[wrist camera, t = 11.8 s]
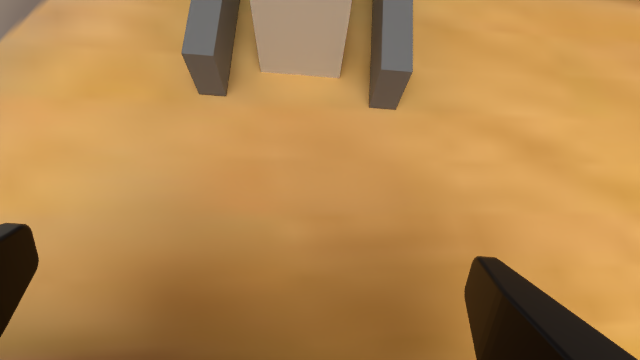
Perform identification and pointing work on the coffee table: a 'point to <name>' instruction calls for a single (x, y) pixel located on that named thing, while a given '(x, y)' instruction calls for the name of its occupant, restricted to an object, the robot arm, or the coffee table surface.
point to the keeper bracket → (219, 31)
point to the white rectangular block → (301, 35)
